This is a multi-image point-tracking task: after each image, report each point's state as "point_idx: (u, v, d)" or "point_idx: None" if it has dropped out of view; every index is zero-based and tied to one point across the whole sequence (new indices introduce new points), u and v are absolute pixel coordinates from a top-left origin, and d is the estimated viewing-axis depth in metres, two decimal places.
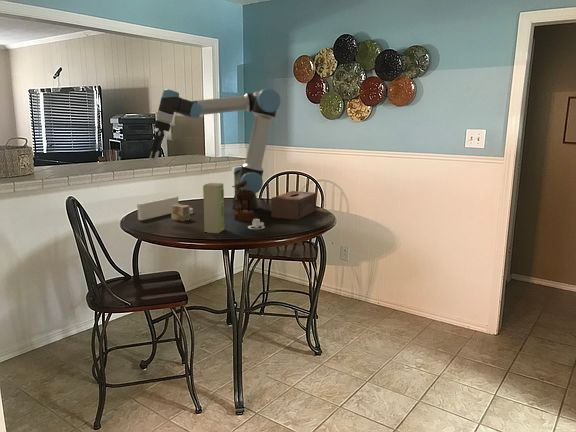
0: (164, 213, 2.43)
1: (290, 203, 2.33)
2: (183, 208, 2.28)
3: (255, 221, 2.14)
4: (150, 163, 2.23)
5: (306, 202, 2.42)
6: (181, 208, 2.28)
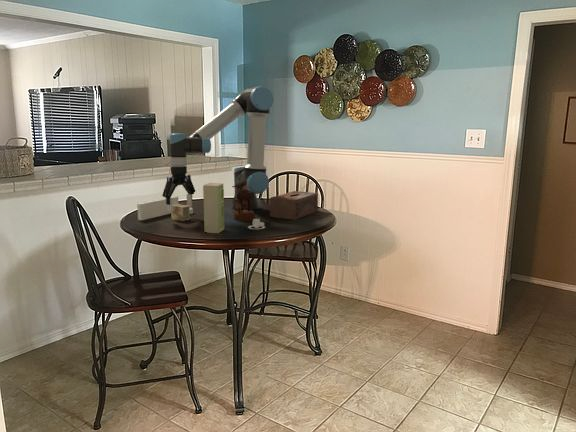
0: (164, 213, 2.43)
1: (287, 203, 2.33)
2: (183, 208, 2.28)
3: (255, 221, 2.14)
4: (168, 209, 2.25)
5: (305, 202, 2.41)
6: (181, 208, 2.28)
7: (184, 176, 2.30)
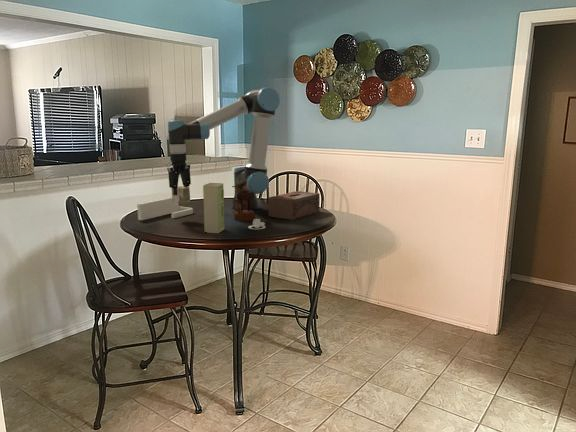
0: (164, 213, 2.43)
1: (285, 203, 2.33)
2: (183, 189, 2.26)
3: (256, 221, 2.14)
4: (176, 200, 2.28)
5: (304, 202, 2.40)
6: (181, 189, 2.26)
7: (184, 163, 2.29)
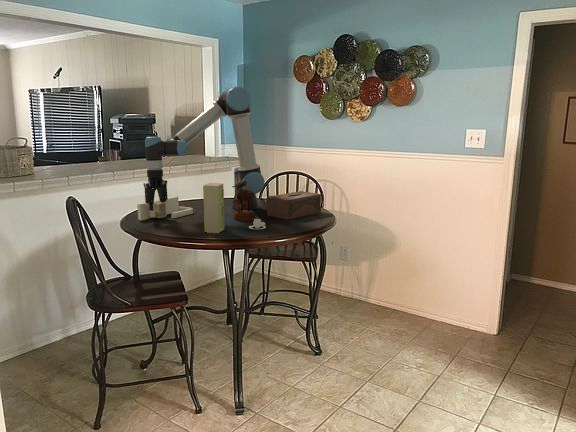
0: None
1: (281, 203, 2.34)
2: (159, 204, 2.29)
3: (256, 221, 2.14)
4: (152, 215, 2.31)
5: (303, 203, 2.40)
6: (157, 205, 2.29)
7: (161, 179, 2.31)
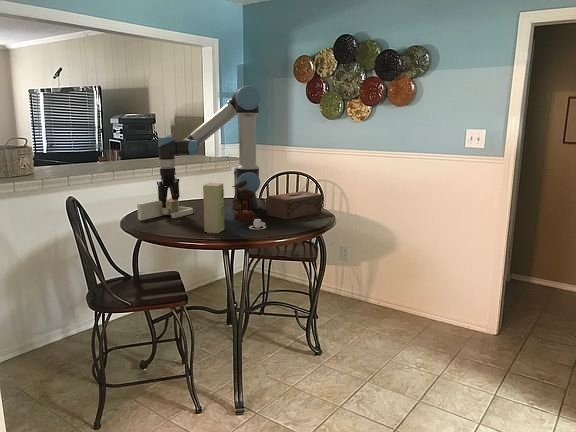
0: None
1: (279, 203, 2.35)
2: (171, 202, 2.36)
3: (256, 221, 2.14)
4: (164, 213, 2.38)
5: (302, 203, 2.39)
6: (170, 202, 2.36)
7: (173, 177, 2.38)
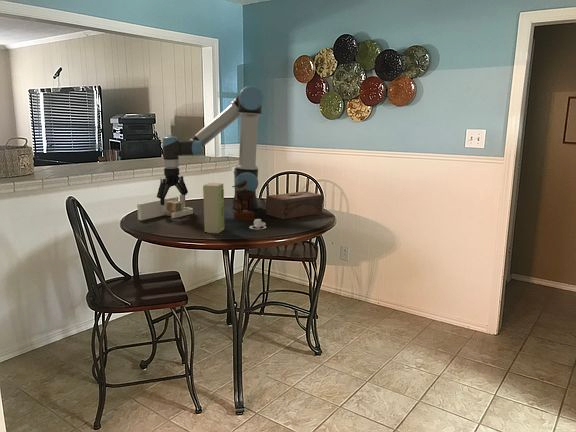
0: (164, 213, 2.43)
1: (277, 202, 2.35)
2: (175, 204, 2.38)
3: (257, 221, 2.14)
4: (163, 210, 2.37)
5: (301, 203, 2.39)
6: (174, 204, 2.38)
7: (177, 177, 2.41)
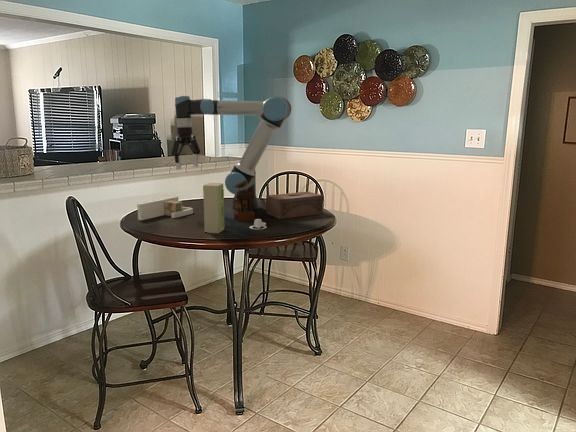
0: (164, 213, 2.43)
1: (276, 202, 2.36)
2: (175, 204, 2.38)
3: (257, 221, 2.14)
4: (177, 168, 2.42)
5: (299, 203, 2.39)
6: (173, 204, 2.38)
7: (190, 136, 2.46)
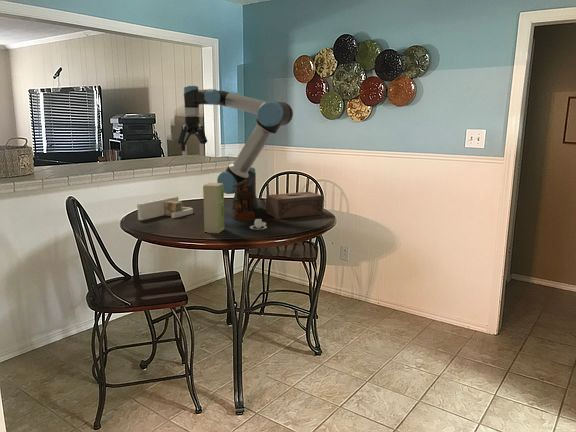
0: (164, 213, 2.43)
1: (274, 202, 2.37)
2: (175, 204, 2.38)
3: (257, 221, 2.14)
4: (183, 156, 2.47)
5: (298, 203, 2.39)
6: (174, 204, 2.38)
7: (197, 126, 2.51)
